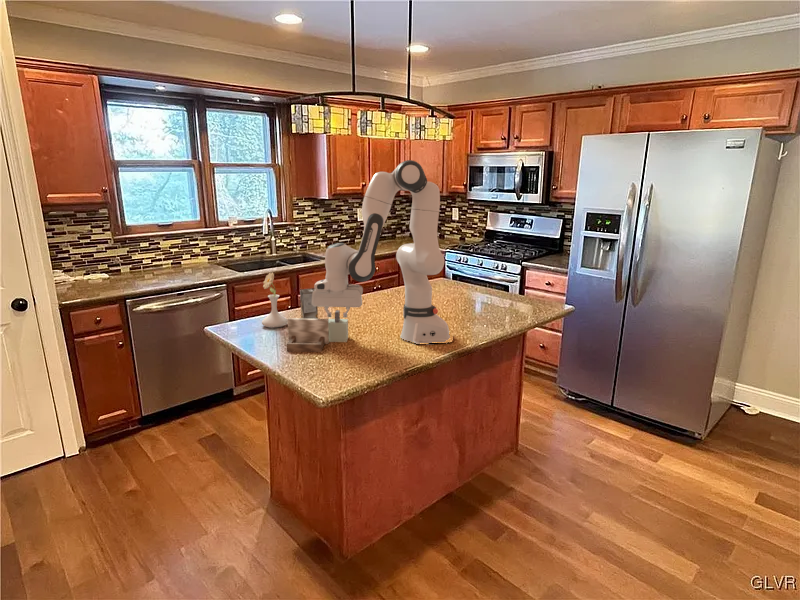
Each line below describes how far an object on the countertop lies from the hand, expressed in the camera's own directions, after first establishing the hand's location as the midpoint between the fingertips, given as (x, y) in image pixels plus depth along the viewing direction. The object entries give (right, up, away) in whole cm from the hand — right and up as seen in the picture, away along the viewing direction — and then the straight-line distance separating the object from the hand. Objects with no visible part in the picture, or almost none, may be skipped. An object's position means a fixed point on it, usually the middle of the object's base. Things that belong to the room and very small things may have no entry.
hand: (337, 317), depth 193 cm
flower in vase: (-30, -5, +18) cm, 35 cm away
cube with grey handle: (0, -9, +2) cm, 10 cm away
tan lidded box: (-11, -12, -7) cm, 17 cm away
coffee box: (-15, -5, +20) cm, 25 cm away
